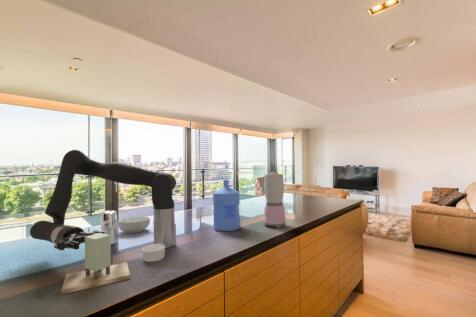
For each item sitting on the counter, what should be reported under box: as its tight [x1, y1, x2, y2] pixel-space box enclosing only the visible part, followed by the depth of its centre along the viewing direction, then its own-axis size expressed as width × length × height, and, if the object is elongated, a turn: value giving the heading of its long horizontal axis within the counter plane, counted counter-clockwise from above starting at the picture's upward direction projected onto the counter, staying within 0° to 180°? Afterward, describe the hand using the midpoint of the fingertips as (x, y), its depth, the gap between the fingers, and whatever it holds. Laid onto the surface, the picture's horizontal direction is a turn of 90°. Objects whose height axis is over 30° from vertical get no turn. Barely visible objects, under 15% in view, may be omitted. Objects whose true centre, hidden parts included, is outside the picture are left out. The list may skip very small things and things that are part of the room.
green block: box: [84, 233, 112, 272], centre depth 77 cm, size 6×5×10 cm
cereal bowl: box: [117, 216, 151, 234], centre depth 134 cm, size 17×17×7 cm
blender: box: [261, 171, 287, 229], centre depth 141 cm, size 16×12×32 cm
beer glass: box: [100, 210, 118, 245], centre depth 114 cm, size 7×7×15 cm
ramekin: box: [141, 243, 166, 263], centre depth 93 cm, size 9×9×4 cm
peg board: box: [60, 261, 131, 295], centre depth 77 cm, size 18×12×4 cm, turn 120°
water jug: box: [212, 179, 241, 232], centre depth 137 cm, size 16×16×28 cm
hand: (92, 242), depth 79 cm, fingers open, 8 cm apart
